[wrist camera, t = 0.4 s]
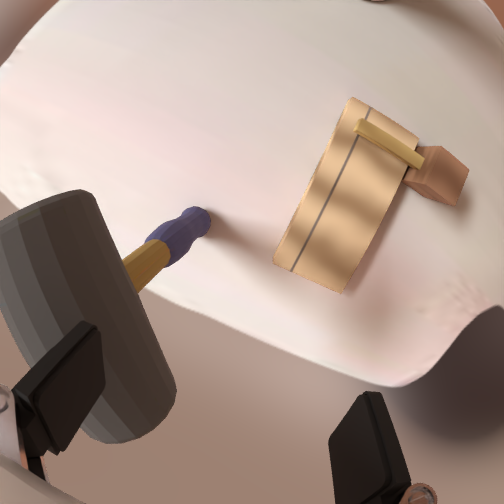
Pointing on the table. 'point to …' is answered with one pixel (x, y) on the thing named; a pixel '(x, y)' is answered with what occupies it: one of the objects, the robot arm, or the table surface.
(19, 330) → the rubber mallet
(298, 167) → the table surface
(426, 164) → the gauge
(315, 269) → the board
